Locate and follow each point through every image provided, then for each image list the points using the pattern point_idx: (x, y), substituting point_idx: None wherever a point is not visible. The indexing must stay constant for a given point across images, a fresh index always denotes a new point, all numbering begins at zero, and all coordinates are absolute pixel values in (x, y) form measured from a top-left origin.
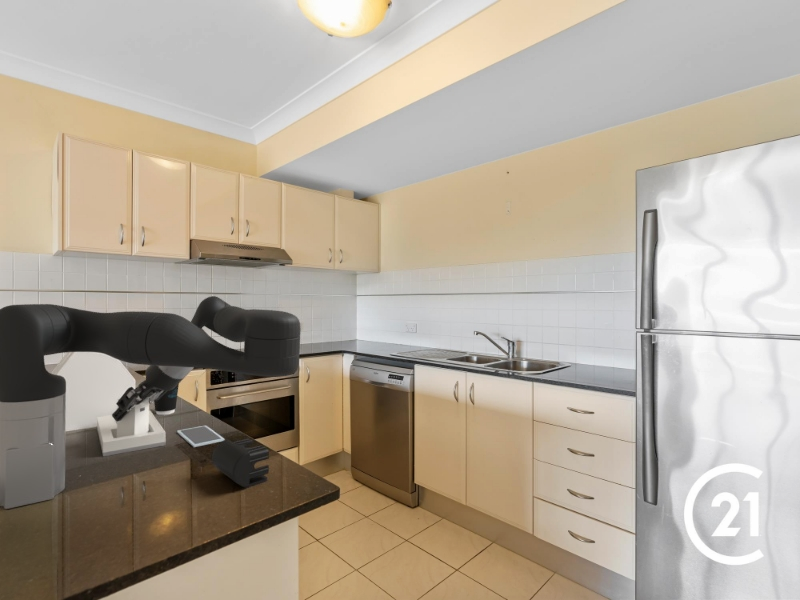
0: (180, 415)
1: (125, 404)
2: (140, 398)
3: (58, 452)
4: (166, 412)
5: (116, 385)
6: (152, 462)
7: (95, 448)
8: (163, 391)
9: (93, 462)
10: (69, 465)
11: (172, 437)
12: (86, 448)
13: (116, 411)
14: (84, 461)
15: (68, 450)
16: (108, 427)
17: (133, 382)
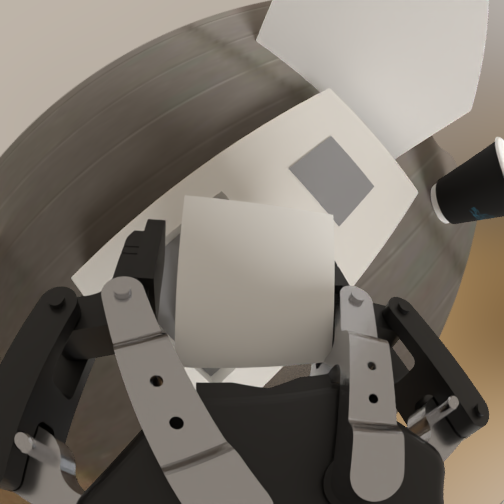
0: (439, 255)
1: (78, 348)
2: (236, 367)
3: None
4: (439, 213)
5: (426, 70)
6: (84, 443)
7: (153, 202)
8: (397, 398)
9: (49, 286)
10: (32, 235)
11: (283, 381)
12: (153, 176)
13: (120, 258)
14: (54, 253)
15: (137, 141)
16: (242, 169)
17: (461, 108)
